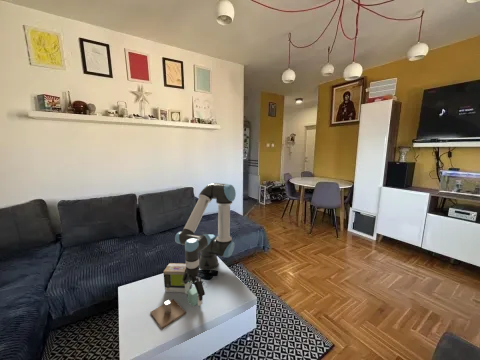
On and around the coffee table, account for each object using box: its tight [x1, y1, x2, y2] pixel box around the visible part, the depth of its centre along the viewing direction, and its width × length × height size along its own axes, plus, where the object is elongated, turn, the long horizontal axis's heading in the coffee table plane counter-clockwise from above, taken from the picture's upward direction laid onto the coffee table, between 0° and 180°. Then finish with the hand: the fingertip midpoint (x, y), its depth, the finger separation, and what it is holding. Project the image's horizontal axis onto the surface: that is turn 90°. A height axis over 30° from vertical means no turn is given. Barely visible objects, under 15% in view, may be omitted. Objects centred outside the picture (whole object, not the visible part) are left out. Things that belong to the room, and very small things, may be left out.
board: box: [150, 298, 187, 330], centre depth 116 cm, size 14×14×1 cm
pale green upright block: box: [187, 286, 198, 307], centre depth 124 cm, size 5×5×8 cm
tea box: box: [163, 262, 193, 294], centre depth 136 cm, size 15×10×15 cm, turn 86°
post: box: [163, 299, 171, 314], centre depth 116 cm, size 3×3×6 cm
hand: (193, 298), depth 124 cm, fingers open, 13 cm apart
